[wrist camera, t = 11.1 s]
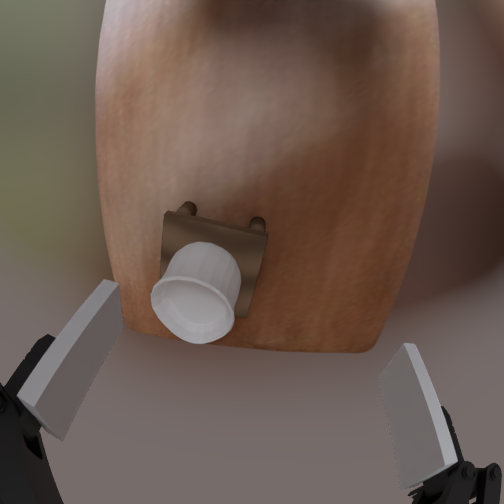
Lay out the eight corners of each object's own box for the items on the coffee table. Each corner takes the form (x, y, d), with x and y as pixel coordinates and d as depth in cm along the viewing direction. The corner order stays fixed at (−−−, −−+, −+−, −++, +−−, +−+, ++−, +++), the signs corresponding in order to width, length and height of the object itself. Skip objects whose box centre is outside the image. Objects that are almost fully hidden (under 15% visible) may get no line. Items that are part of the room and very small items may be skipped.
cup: (227, 307, 41) (216, 355, 33) (166, 280, 40) (142, 323, 31) (254, 258, 37) (248, 303, 29) (185, 227, 36) (159, 264, 27)
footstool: (181, 198, 42) (164, 214, 35) (269, 217, 42) (268, 237, 36) (173, 272, 48) (159, 296, 42) (250, 290, 49) (246, 318, 42)
